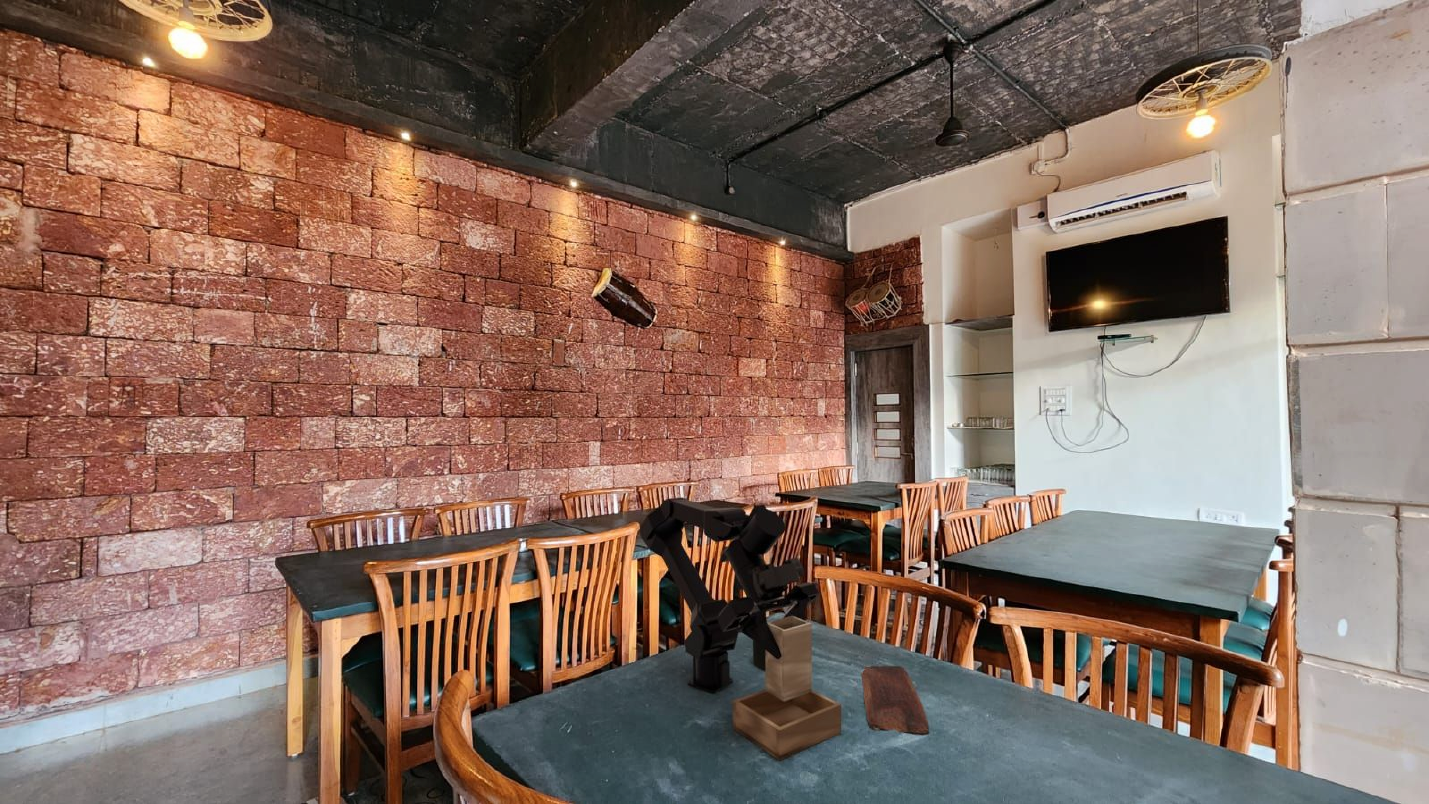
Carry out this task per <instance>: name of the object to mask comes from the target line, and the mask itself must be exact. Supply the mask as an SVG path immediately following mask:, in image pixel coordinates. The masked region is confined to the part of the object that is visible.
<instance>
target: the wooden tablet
mask: <svg viewBox="0 0 1429 804" xmlns="http://www.w3.org/2000/svg"><path fill="white" fill-rule="evenodd" d="M870 666H871V667H866V666H864V667H865V668H864V667H863V668H864V669H865V670H864V671H863V673H862V672H861V673H862V675H861V674H860V675H861V676H860V677H861V680H862V686H863V687H862V688H863V696H864V697H863V699H864V706H865V714H866V720H867V724H868V726H869V727H870V729H871V730H872V731H873V730H874V731H880V730H881V732H882V731H883V732H889V731H890V730H892V731H896V732H899V733H902V732H903V734H907V735H919V736H920V735H921V736H922V735H927V734H928V733H929V730H930V728H929V727H930V726H929V721H928V719H927V714H926V712H925V711H926V710H925V709H924V706H923V703H922V700H921V698H920V697H919V694H918V691H917V690H916V688H915V686H914V684H913V682H912V680H911V677H910V676H909V673H908V672H907V670H906V669H905V668H904V667H903V666H900V665H899V666H898V665H880V666H879V665H870ZM893 729H894V730H893Z"/></svg>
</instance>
